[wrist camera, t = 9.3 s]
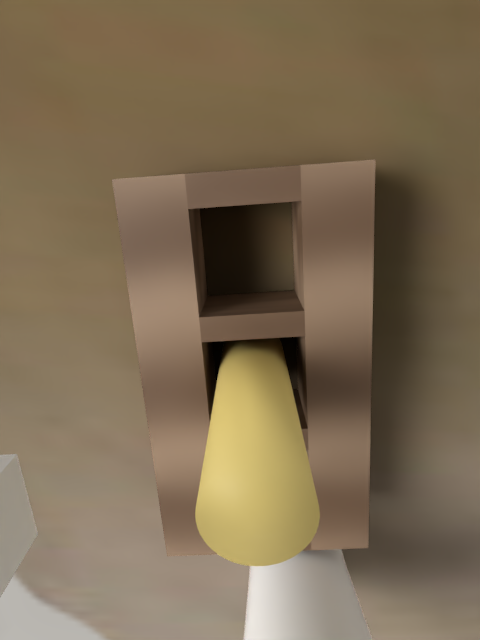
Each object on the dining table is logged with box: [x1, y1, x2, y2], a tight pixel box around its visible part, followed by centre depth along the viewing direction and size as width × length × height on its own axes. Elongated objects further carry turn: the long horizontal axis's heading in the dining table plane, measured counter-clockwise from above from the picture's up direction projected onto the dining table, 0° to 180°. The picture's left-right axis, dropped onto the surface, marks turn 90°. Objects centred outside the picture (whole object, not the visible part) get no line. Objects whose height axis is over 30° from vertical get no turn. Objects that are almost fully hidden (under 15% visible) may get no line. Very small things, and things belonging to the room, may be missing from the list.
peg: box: [195, 338, 320, 566], centre depth 17 cm, size 3×3×12 cm
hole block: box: [112, 160, 375, 556], centre depth 21 cm, size 18×10×4 cm, turn 4°
